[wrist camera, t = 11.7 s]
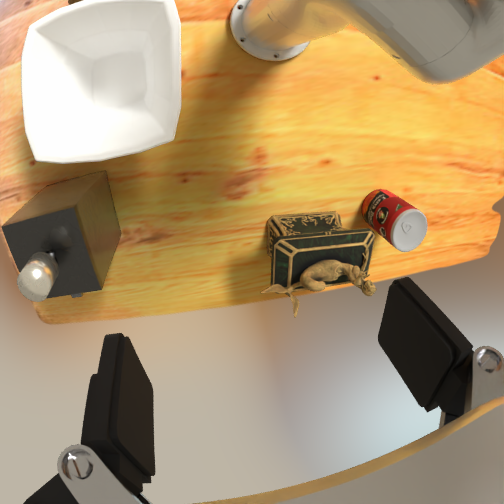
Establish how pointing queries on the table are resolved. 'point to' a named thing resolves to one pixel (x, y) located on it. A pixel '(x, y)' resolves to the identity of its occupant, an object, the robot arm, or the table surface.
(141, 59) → the bowl
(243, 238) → the table surface
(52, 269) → the plunger
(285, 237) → the decorative box
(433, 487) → the robot arm
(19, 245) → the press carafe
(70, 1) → the rock
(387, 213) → the canned food
